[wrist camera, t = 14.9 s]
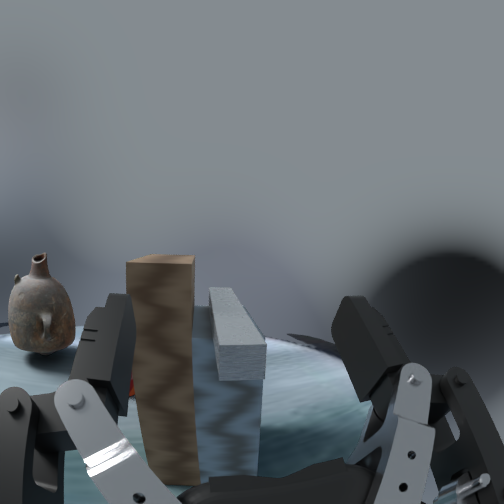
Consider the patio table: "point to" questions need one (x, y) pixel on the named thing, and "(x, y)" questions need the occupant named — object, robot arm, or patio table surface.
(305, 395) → the patio table surface
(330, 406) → the patio table surface
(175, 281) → the display riser
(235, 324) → the aluminium bar
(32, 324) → the jug
